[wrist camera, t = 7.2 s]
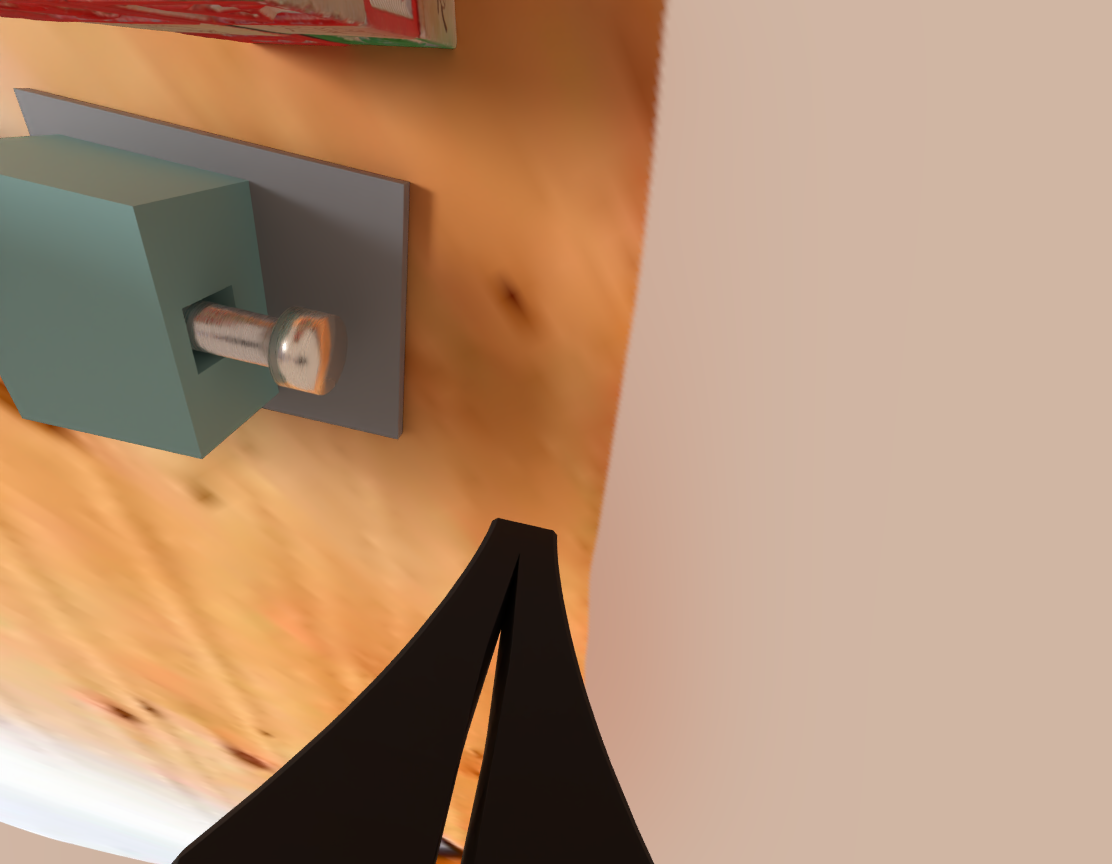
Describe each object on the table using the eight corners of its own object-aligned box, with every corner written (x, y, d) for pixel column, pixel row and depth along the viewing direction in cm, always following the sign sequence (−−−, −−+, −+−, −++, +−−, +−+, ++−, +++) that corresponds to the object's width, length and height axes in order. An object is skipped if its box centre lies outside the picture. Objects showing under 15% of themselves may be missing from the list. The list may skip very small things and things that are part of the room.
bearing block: (126, 368, 21) (5, 435, 17) (29, 88, 15) (-190, 84, 11) (402, 432, 21) (350, 513, 17) (409, 182, 16) (334, 212, 11)
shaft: (49, 301, 17) (-32, 330, 15) (18, 225, 16) (-77, 245, 14) (349, 371, 18) (311, 410, 15) (346, 303, 16) (303, 334, 14)
